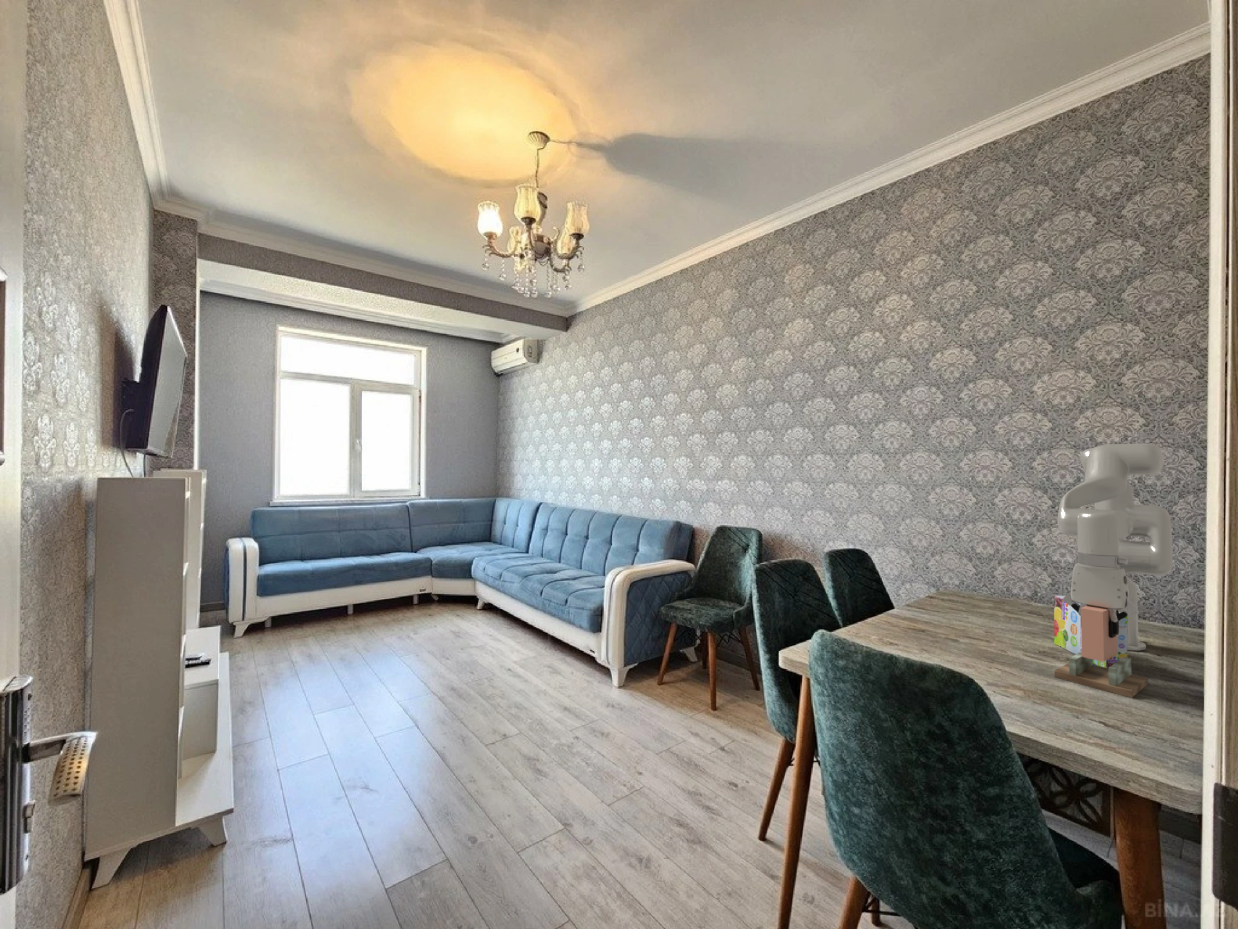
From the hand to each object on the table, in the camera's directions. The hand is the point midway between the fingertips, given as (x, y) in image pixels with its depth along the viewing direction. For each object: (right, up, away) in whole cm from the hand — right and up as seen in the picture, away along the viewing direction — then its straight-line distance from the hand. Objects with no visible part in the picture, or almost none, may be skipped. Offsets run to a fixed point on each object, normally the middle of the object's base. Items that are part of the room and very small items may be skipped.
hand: (1099, 633), depth 124 cm
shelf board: (0, -12, 0) cm, 12 cm away
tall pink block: (0, -5, 0) cm, 5 cm away
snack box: (+12, -12, +16) cm, 24 cm away
